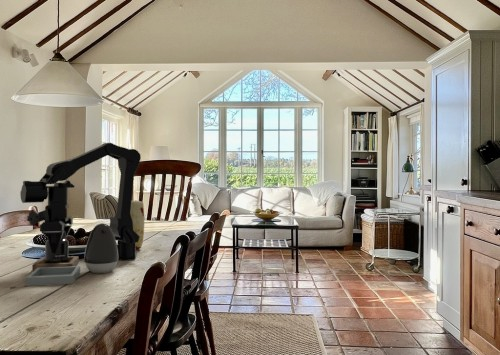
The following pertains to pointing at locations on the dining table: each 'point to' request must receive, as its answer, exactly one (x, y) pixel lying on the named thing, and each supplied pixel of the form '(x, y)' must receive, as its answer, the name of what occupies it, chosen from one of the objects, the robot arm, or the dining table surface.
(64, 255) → the supplement bottle
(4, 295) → the dining table surface
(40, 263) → the walnut collar
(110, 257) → the grey egg shaped device
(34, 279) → the slate tray
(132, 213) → the food model
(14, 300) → the dining table surface
